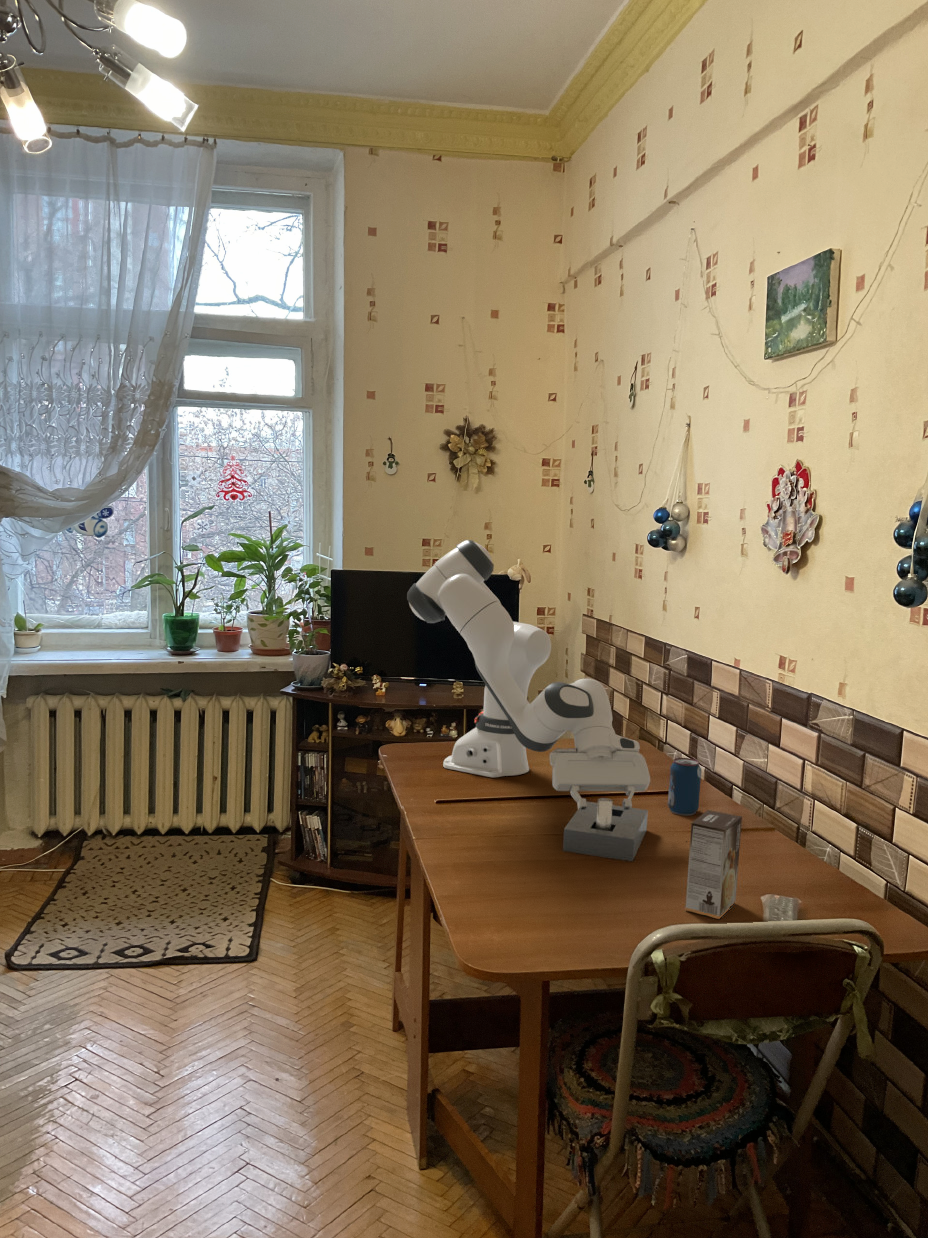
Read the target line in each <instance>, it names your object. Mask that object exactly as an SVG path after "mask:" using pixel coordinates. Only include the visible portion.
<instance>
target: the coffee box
mask: <svg viewBox="0 0 928 1238" xmlns="http://www.w3.org/2000/svg"><path fill="white" fill-rule="evenodd" d="M742 819H743V816H741V815H736V814H730V813H726V812H721V811H715V810H708V809H707V810H706V811H705V812H703V813H702V814H701V815H700V816H698V817H697V818H696V819H694V820H693V821H692V822H691V823H690V825H691V827H690V840H689V852H688V854H689V855H688V869H687V883H686V884H687V885H686V897H685V909H686V908H689V909H693V910H697V911H701V912H704V913H709V914H713V915H717V916H721V915H722V914H723V913H724V912H725V911H726V910H727V909H728V908H729V907H730V906H731V905H732V904H733V903H734V902H735V900H736V901H737V887H738V886H737V885H738V873H739V862H740V861H739V860H740V849H741V832H742V821H743V820H742ZM735 903H736V902H735Z"/></svg>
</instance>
